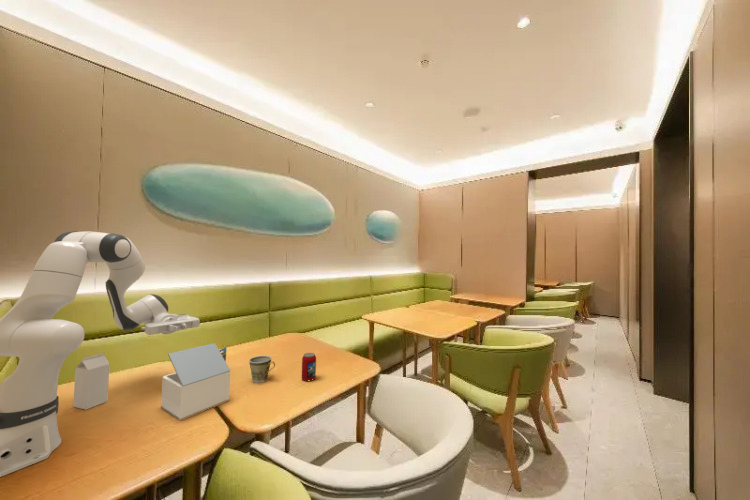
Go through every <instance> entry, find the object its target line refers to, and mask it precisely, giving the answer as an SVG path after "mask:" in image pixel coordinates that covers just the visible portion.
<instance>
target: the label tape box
mask: <svg viewBox="0 0 750 500" xmlns="http://www.w3.org/2000/svg"><path fill="white" fill-rule="evenodd" d="M218 350H219V351H220V353H221V355H222V357H223V358H224V360H225V362H226V360H227V346H225V347H223V348H221V349H218ZM226 363H227V362H226Z"/></svg>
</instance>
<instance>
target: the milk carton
mask: <svg viewBox="0 0 750 500" xmlns="http://www.w3.org/2000/svg"><path fill="white" fill-rule="evenodd" d="M110 367H111V365H110V361H108V359H107V357H106V356H105V352H101V353H98V354H94V355H89V356H85V357H82V358H81V361H80V363H79V364H78V365H76V367H75V371H74V374H75V375H74V386H73V387H74V388H73V389H74V390H73V401H72V402H73V403H72V404H73V405H72V407H73V408H77V409H80V410H81V409H82V410H88V409H91V408H93V407H96V406H98V405H101V404H104V403H106V402H108V397H109V380H110V379H109V378H110Z"/></svg>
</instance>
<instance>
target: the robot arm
mask: <svg viewBox="0 0 750 500" xmlns="http://www.w3.org/2000/svg"><path fill="white" fill-rule="evenodd" d="M88 263H105V264H106V266H107V268H108V270H109V276H108V279H107V280H106V281H105V291H106V293H107V297H108V300H109V303H110V307H111V310H112V314H113V315H112V316H113V323H114V324H115V325H116V327H117V328H119V329H120V330H122V331H134V330H135V329H136V328H138V327H139V326H141V325H142V324H145V325H144V326H142V327H141V328H140V330H142V331H144V333H145V334H146V335H148V336H151V335H156V334H157V335H158V334H163V335H171V334H173V333H174V332H175V333H176V332H177V331H178V332H179V331H181V330H183V331H184V330H187V329H193V328H198V327H200V323H201V320H200V318H199V317H196V316H190V314H188V313H187V314H186V313H184V314H176V313H169V305H168V303H167V302H166V300H165V299H164V298H162V296H160V295H157V294H154V293H153V294H152V293H151V294H147V295H145V296H144V297H142V298H140V299H138V300H137V301H135V302H133V303H131V304H129V305H128V306H127V303H126V299H125V293H127V292H126V291H127V290H129V289H130V287H132V285H134V284H135V283H136V282H137V281H138V280H139V279H140V278H141V277H142V276H143V275H144V274H145V273H144V272H145V270H146V264H145V261H144V259H143V257H142V255H141V253H140V252H139V250H138V248H137V247H136V245H135V244H134V243H133V242H132V241H131V239H130V238H128V237H126V236H124V235H122V234H119V233H108V232H100V231H94V230H93V231H90V230H89V231H88V230H87V231H79V230H78V231H77V230H74V231H66V232H63V233H61V234H59V235H58V236H57V237H56V238H55V239H54V241H53V242H52V243H50V244H48V245H47V247H46V248H45V249H44V250H43V252H42V254H41V255H40V256H39V258H38V260H37V262H36V264H35V265H34V268H33V269H32V272H31V274H30V277H29V278H28V281H27V283H26V285H25V287H24V290H23V292H22V294H21V295H20V297H18V300H17V301H16V302H15V303H14V304H13V306H11V308H10V309H9V310H8V311H7V312H6V313H5V314H4V315H3V316H2V317H0V357H15V358H16V357H17V358H18V359H19V360H18V363H17V366H16V369H15V370H14V372H12V373H11V374H9V375H7V376H6V377H5V378H4V379H3V380H2V381H1V383H0V478H1V477H4V476H6V475H9V474H11V473H13V472H16V471H19V470H21V469H24V468H26V467H29V466H31V465H33V464H37V463H39V462H41V461H43V460H46V459H48V458H49V457H50V456H51V454H52V452H53V451H54V450H55V449H57V448H58V447H59V446H60V445H61V444H62V441H63V440H62V437H61V435H60V432H59V429H58V428H59V427H58V419H57V418H58V417H57V414H59V413H58V412H59V406H60V404H59V398H60V397H59V395H58V385H59V377H60V374H61V373H60V372H61V369H62V367H63V365H64V363H65V361H66V359H67V358H68V357H69V356H70V354H72V353H74V352H75V351H76V350H77V349H78V348H80V347H81V345H82V344H83V342H84V339H85V336H86V335H85V334H86V333H85V329H84V327H83V326H82V325H81V324H79V323H76V322H74V321H70V320H66V319H54V316H56V314H57V313H58V312H60V310H61V309H63V308H64V307H66V306H68V305H70V304H71V303H73V302H74V300H75V299H76V295H77V292H78V290H79V287H80V285H81V283H82V280H83V277H84V274H85V270H86V266H87V264H88Z"/></svg>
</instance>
